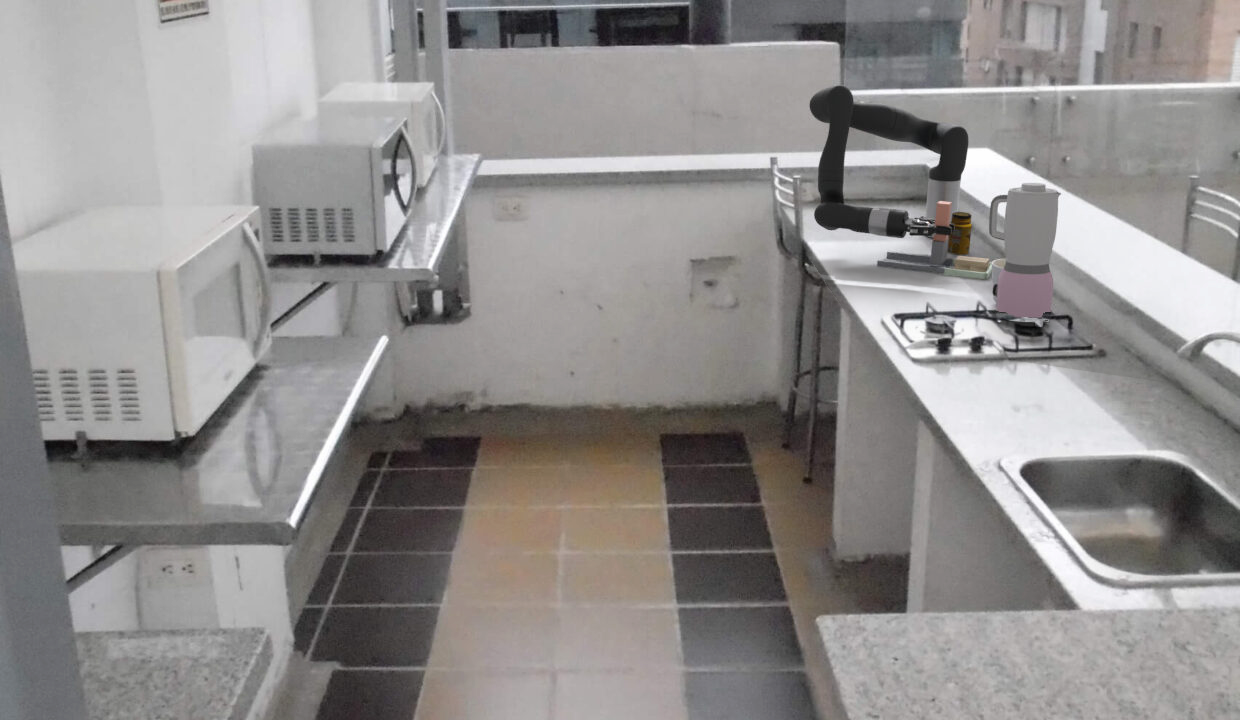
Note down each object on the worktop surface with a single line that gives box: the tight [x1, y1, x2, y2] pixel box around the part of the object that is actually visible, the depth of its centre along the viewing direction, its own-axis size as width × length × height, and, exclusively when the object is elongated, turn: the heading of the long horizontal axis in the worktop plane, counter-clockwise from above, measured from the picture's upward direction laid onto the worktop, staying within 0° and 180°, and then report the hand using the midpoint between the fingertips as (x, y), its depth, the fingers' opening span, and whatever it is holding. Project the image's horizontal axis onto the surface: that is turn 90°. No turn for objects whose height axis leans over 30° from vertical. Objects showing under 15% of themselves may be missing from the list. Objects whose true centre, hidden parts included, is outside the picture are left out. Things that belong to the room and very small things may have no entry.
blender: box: [988, 182, 1062, 321], centre depth 273 cm, size 16×12×32 cm
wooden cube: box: [954, 255, 975, 271], centre depth 315 cm, size 4×4×4 cm
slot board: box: [876, 250, 955, 275], centre depth 321 cm, size 12×18×2 cm, turn 64°
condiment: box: [947, 211, 973, 255], centre depth 333 cm, size 7×8×12 cm
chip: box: [970, 256, 990, 273], centre depth 314 cm, size 4×4×4 cm
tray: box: [943, 257, 993, 280], centre depth 315 cm, size 12×11×2 cm
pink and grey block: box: [930, 201, 952, 265], centre depth 316 cm, size 6×3×16 cm, turn 154°
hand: (952, 229), depth 314 cm, fingers closed on pink and grey block, 3 cm apart
